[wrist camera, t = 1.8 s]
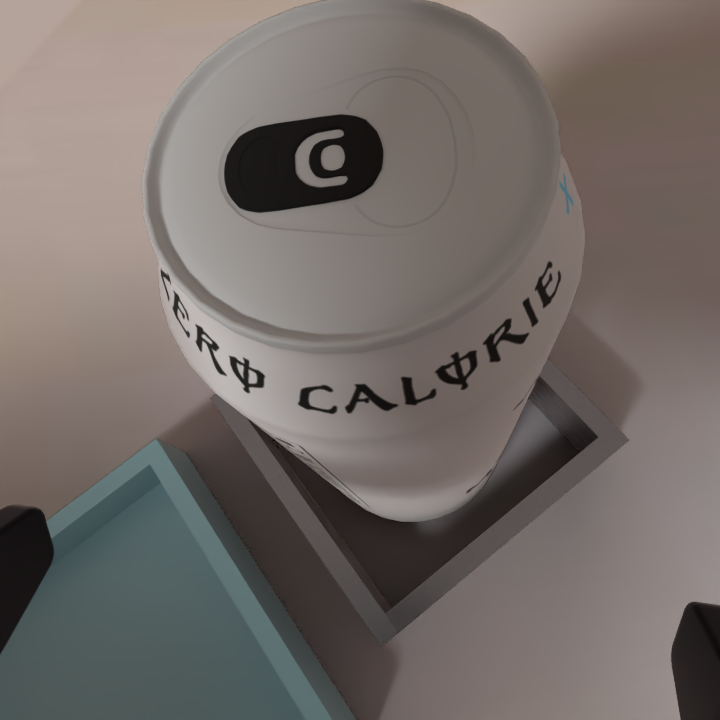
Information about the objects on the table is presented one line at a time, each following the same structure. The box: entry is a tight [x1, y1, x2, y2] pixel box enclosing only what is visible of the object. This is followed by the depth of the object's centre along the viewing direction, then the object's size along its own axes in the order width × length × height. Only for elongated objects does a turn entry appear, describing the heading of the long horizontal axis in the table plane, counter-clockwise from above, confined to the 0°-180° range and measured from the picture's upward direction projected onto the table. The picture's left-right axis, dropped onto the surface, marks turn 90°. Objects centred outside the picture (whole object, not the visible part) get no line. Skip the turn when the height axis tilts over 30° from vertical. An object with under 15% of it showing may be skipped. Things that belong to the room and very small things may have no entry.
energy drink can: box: [142, 0, 586, 522], centre depth 14 cm, size 6×6×15 cm
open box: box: [210, 358, 629, 647], centre depth 20 cm, size 9×9×2 cm
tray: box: [0, 439, 356, 720], centre depth 18 cm, size 11×11×2 cm
